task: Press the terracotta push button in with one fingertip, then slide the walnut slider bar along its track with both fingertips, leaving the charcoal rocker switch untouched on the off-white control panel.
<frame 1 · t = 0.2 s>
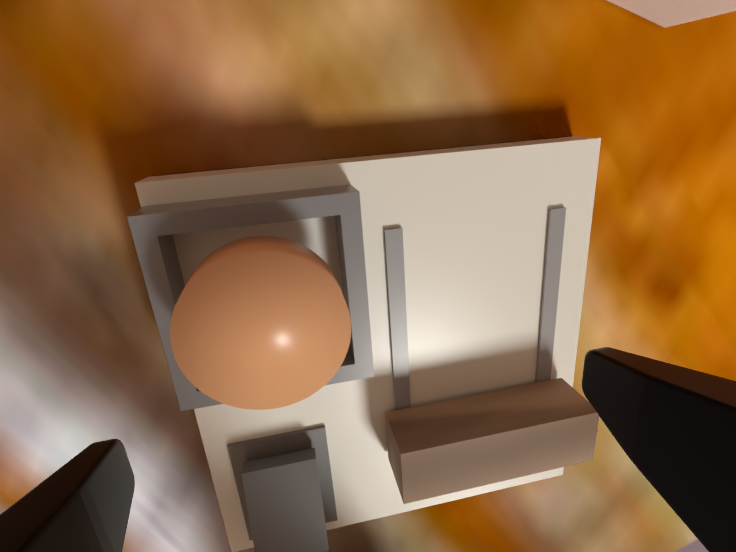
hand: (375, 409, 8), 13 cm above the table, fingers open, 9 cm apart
slider bar: (488, 436, 22), point 4 cm above the table, slide at 0.0 cm
push button: (265, 323, 16), point 6 cm above the table, slide at 0.0 cm
rocker: (286, 506, 21), point 4 cm above the table, hinge at 12.0°
panel: (390, 344, 23), on the table
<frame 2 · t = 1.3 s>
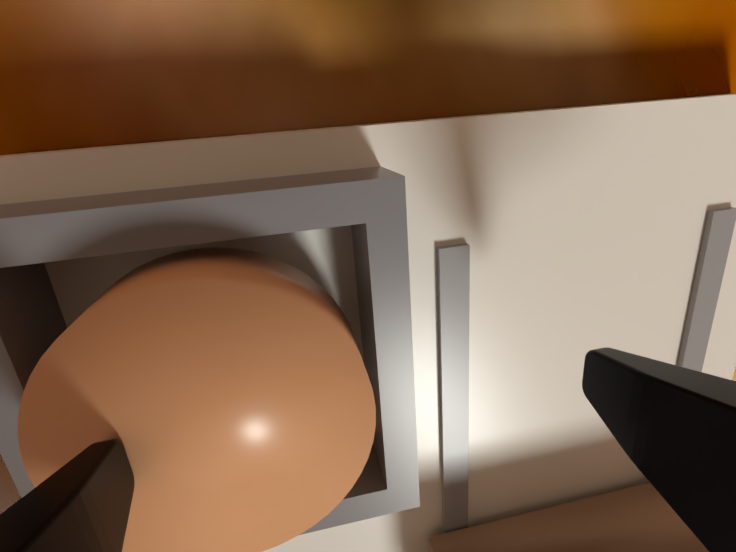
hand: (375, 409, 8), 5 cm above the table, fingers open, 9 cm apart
push button: (219, 405, 9), point 4 cm above the table, slide at 1.4 cm, touching gripper
panel: (431, 421, 15), on the table
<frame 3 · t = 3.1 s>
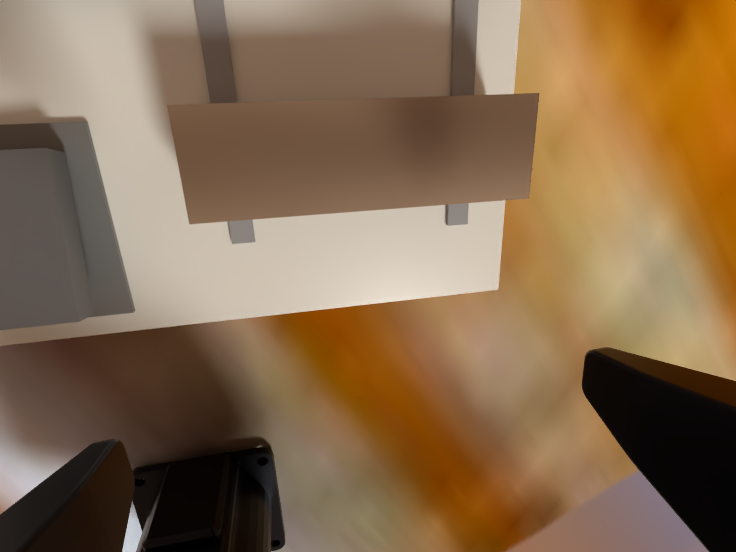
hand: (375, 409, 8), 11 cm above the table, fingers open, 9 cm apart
slider bar: (359, 152, 13), point 4 cm above the table, slide at 0.0 cm
rocker: (6, 241, 13), point 3 cm above the table, hinge at 12.0°
panel: (220, 29, 15), on the table
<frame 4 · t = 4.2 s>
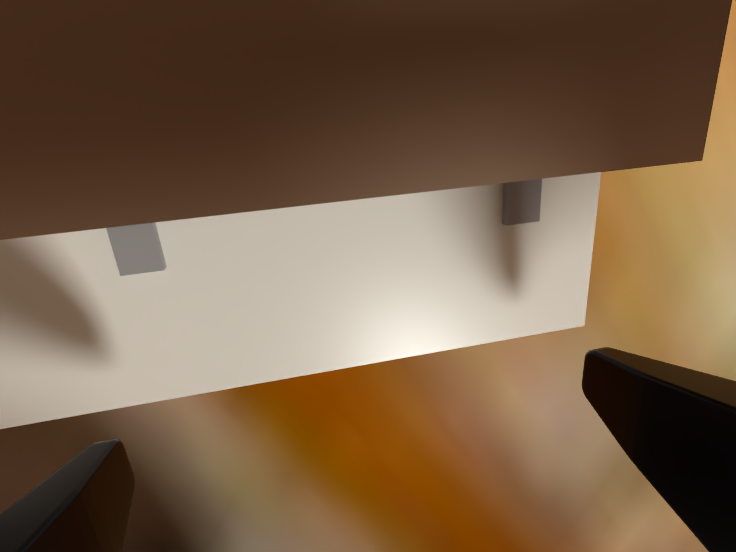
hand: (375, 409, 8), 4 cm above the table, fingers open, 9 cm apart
slider bar: (344, 81, 6), point 4 cm above the table, slide at 0.0 cm
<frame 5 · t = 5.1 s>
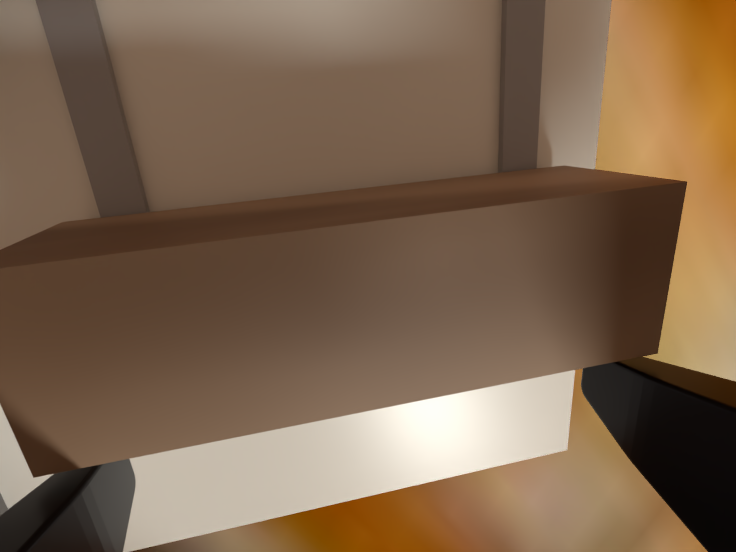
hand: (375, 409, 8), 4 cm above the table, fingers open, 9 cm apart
slider bar: (357, 287, 8), point 4 cm above the table, slide at 0.8 cm, touching gripper
panel: (134, 118, 9), on the table
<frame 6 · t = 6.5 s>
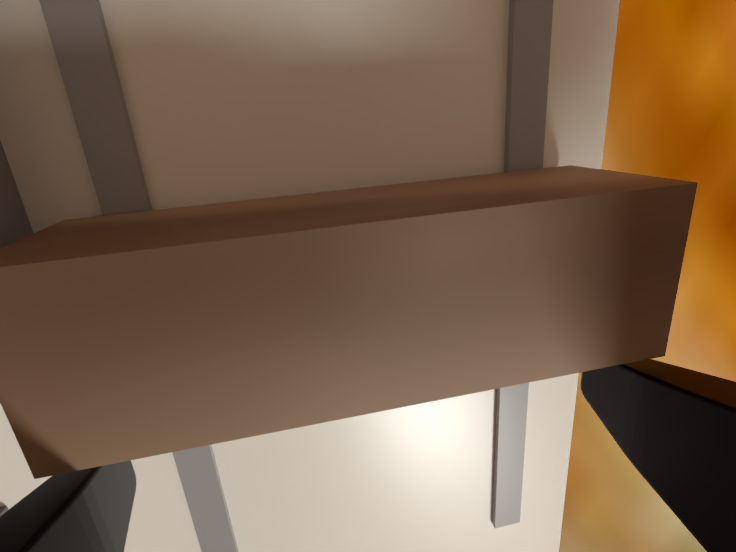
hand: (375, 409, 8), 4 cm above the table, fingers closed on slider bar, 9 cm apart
slider bar: (362, 287, 8), point 4 cm above the table, slide at 5.9 cm, touching gripper
panel: (188, 325, 11), on the table
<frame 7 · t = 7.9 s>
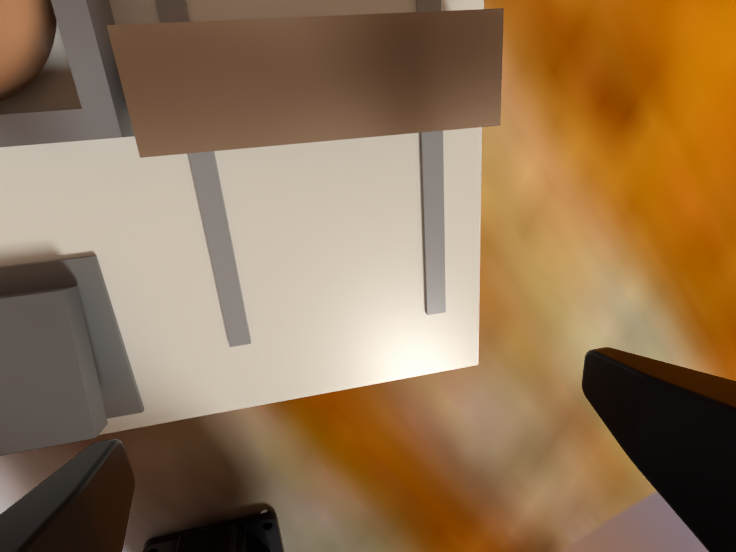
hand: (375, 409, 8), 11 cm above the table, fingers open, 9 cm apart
slider bar: (320, 85, 13), point 4 cm above the table, slide at 5.9 cm
rocker: (28, 370, 14), point 3 cm above the table, hinge at 12.0°
panel: (211, 155, 16), on the table
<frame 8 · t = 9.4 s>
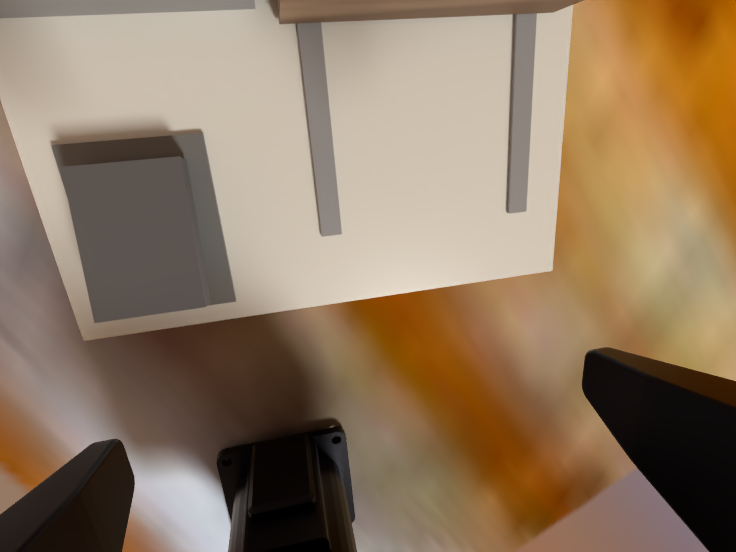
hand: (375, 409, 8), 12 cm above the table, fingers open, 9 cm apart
rocker: (141, 239, 14), point 3 cm above the table, hinge at 12.0°
panel: (306, 47, 17), on the table
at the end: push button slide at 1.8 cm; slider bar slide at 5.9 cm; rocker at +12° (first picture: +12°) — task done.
